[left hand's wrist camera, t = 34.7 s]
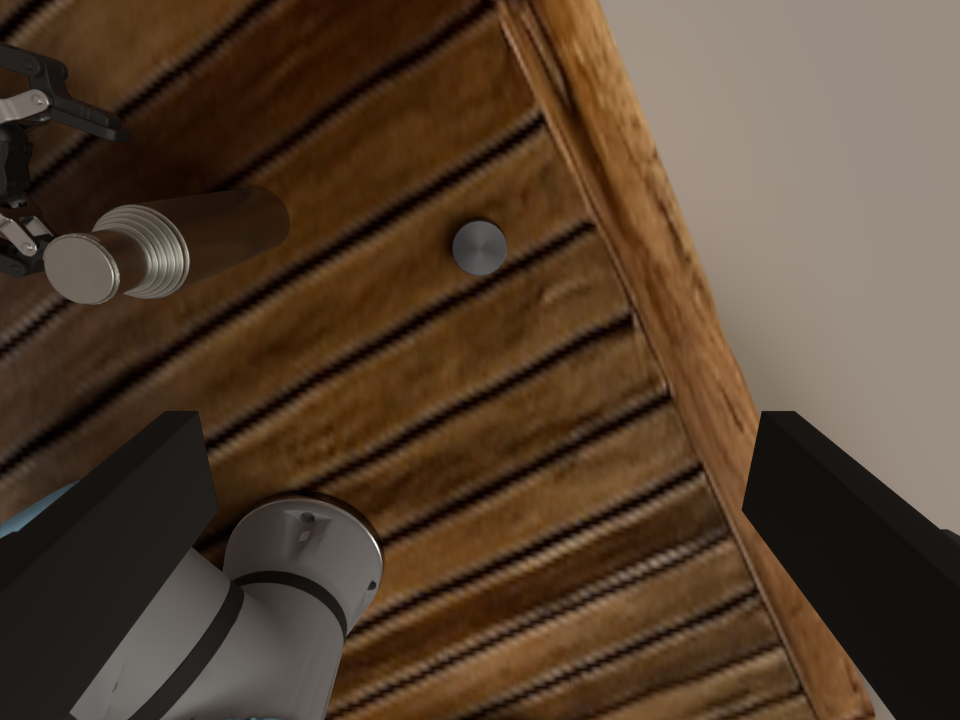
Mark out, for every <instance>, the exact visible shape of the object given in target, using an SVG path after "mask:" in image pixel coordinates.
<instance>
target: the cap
mask: <svg viewBox="0 0 960 720" xmlns="http://www.w3.org/2000/svg"><path fill="white" fill-rule="evenodd" d="M452 251H453V256H454V259H455V261H456V263H457V264H458V266H459V267H460V268H461V269H462V270H464V271H465V272H467V273H469V274H471V275H476V276H483V275H488V274H490V273H493V272H494V271H496V270H497V269H498V268H499V267H500V266H501V265H502V263H503V261H504V260H505V257H506V253H507V244H506V240H505V236H504V233H503V231H502V230H501V228H500V227H499V226H498V225H497V224H496V223H495V222H494V221H492V220H490V219H487V218H482V217H477V218H472V219H469V220H467V221H466V222H464V223H463V224H462V225H461V226H460V227H459V228H458V230H457V232H456V234H455V237H454V240H453V246H452Z"/></svg>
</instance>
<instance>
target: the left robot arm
mask: <svg viewBox="0 0 960 720" xmlns="http://www.w3.org/2000/svg"><path fill="white" fill-rule="evenodd" d="M217 511H218V506H217V501H216V496H215V491H214V486H213V481H212V477H211V472H210V467H209V462H208V457H207V452H206V447H205V442H204V437H203V432H202V427H201V423H200V418H199V413H198V411H165V412H164V413H162V414H161V415H160V416H159V417H157V418H156V419H155V420H154V421H153V422H151V423H150V424H149V425H148V426H146V427H145V428H144V429H143V430H141V431H140V432H139V433H138V434H137V435H135V436H134V437H133V438H132V439H130V440H129V441H128V442H127V443H125V444H124V445H123V446H122V447H121V448H119V449H118V450H117V451H116V452H114V453H113V454H112V455H111V456H109V457H108V458H107V459H106V460H105V461H103V462H102V463H101V464H100V465H98V466H97V467H96V468H95V469H94V470H92V471H91V472H90V473H89V474H87V475H86V476H85V477H84V478H82V479H81V480H79V481H76V482H73V483H70V484H68V485H66V486H64V487H62V488H60V489H59V490H57V491H55V492H53V493H51V494H50V495H48V496H46V497H44V498H43V499H41V500H39V501H38V502H36V503H34V504H33V505H31V506H29V507H28V508H26V509H24V510H23V511H21V512H20V513H18V514H16V515H15V516H13V517H12V518H10V519H8V520H7V521H5V522H4V523H2V524H1V525H0V720H324V718H325V714H326V710H327V707H328V703H329V699H330V696H331V692H332V688H333V685H334V681H335V677H336V673H337V670H338V666H339V662H340V659H341V655H342V651H343V647H344V643H345V640H346V637H347V635H348V633H349V632H350V631H351V629H352V628H353V627H354V625H355V624H356V623H357V621H358V620H359V618H360V617H361V616H362V614H363V613H364V612H365V610H366V609H367V608H368V606H369V605H370V603H371V602H372V600H373V599H374V597H375V595H376V592H377V591H378V588H379V586H380V583H381V578H382V574H383V570H384V550H383V546H382V543H381V540H380V538H379V536H378V534H377V532H376V531H375V529H374V528H373V526H372V525H371V524H370V523H369V521H368V520H367V519H366V518H365V517H364V516H363V515H361V514H360V513H359V512H358V511H356V510H355V509H354V508H352V507H350V506H349V505H347V504H345V503H343V502H341V501H339V500H337V499H334V498H332V497H328V496H325V495H321V494H316V493H307V492H292V493H285V494H280V495H276V496H273V497H270V498H268V499H265V500H263V501H261V502H259V503H258V504H256V505H255V506H253V507H252V508H251V509H250V510H249V511H247V513H246V514H245V515H244V516H243V517H242V519H241V520H240V521H239V523H238V524H237V526H236V527H235V529H234V531H233V532H232V534H231V536H230V539H229V542H228V544H227V547H226V551H225V558H224V566H223V571H222V572H221V571H220V570H219V569H218V568H217V567H215V566H214V565H213V564H212V563H210V562H209V561H208V560H207V559H206V558H204V557H203V556H202V555H201V554H199V553H198V552H197V551H196V550H195V549H194V548H192V545H193V544H194V543H195V541H196V540H197V539H198V537H199V536H200V535H201V533H202V532H203V530H204V529H205V528H206V526H207V525H208V524H209V522H210V521H211V520H212V518H213V517H214V516H215V514H216V513H217ZM742 511H743V513H744V514H745V516H746V517H747V518H748V520H749V521H750V522H751V524H752V525H753V526H754V528H755V529H756V530H757V532H758V533H759V535H760V536H761V537H762V539H763V540H764V541H765V543H766V544H767V545H768V547H769V548H770V549H771V551H772V552H773V554H774V555H775V556H776V558H777V559H778V560H779V562H780V563H781V564H782V566H783V567H784V568H785V570H786V571H787V573H788V574H789V575H790V577H791V578H792V579H793V581H794V582H795V583H796V585H797V586H798V587H799V589H800V590H801V592H802V593H803V594H804V596H805V597H806V598H807V600H808V601H809V602H810V604H811V605H812V606H813V608H814V609H815V611H816V612H817V613H818V615H819V616H820V617H821V619H822V620H823V621H824V623H825V624H826V625H827V627H828V628H829V630H830V631H831V632H832V634H833V635H834V636H835V638H836V639H837V640H838V642H839V643H840V644H841V646H842V647H843V649H844V650H845V651H846V653H847V654H848V655H849V657H850V658H851V659H852V661H853V662H854V663H855V665H856V666H857V668H858V669H859V670H860V672H861V673H862V674H863V676H864V677H865V678H866V680H867V681H868V682H869V684H870V685H871V686H872V688H873V689H874V691H875V692H876V693H877V695H878V696H879V697H880V699H881V700H882V701H883V703H884V704H885V706H886V707H887V708H888V710H889V711H890V712H891V714H892V715H893V716H894V718H895V719H896V720H960V536H959V535H957V534H955V533H953V532H951V531H949V530H948V529H939V528H938V527H937V526H935V525H934V524H933V523H932V522H930V521H929V520H928V519H927V518H926V517H924V516H923V515H922V514H921V513H919V512H918V511H917V510H916V509H914V508H913V507H912V506H911V505H910V504H908V503H907V502H906V501H905V500H903V499H902V498H901V497H900V496H898V495H897V494H896V493H895V492H894V491H892V490H891V489H890V488H889V487H887V486H886V485H885V484H884V483H882V482H881V481H880V480H879V479H878V478H876V477H875V476H874V475H873V474H871V473H870V472H869V471H868V470H866V469H865V468H864V467H863V466H862V465H860V464H859V463H858V462H857V461H855V460H854V459H853V458H852V457H850V456H849V455H848V454H847V453H846V452H844V451H843V450H842V449H841V448H839V447H838V446H837V445H836V444H834V443H833V442H832V441H831V440H830V439H828V438H827V437H826V436H825V435H823V434H822V433H821V432H820V431H819V430H817V429H816V428H815V427H814V426H812V425H811V424H810V423H809V422H807V421H806V420H805V419H804V418H803V417H801V416H800V415H799V414H798V413H796V412H795V411H762V413H761V418H760V423H759V427H758V432H757V437H756V442H755V447H754V452H753V457H752V462H751V467H750V472H749V477H748V481H747V486H746V491H745V496H744V501H743V506H742Z"/></svg>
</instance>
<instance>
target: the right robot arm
mask: <svg viewBox="0 0 960 720" xmlns="http://www.w3.org/2000/svg"><path fill="white" fill-rule="evenodd" d="M0 67H2V68H5V69H8V70H12V71H15V72H18V73H21V74H24V75H28V79H29V83H30V87H31V90H30V91H27V92H24V93H22V94H19V95H16V96H14V97H11V98H7V99H0V203H3V202H6V201H7V202H8V203H9V204H10V206H11V207H12V208H10V209H7V208H4V207H2V206H0V231H1V232H3V233H4V234H5V236H6V237H7V238H8V239H9V240H10V241H11V242H10V241H8V240H5V239H3V238H0V272H3V273H5V274H8V275H11V276H13V277H17V278H19V277H23V276H27V275H30V274H34V273H38V272H41V271H45V268H44V260H43V255H44V251H45V250H46V248H47V246H48V244H49V243H51V242H52V241H53V240H54V239H55V238H57V237H60V236H63V235H60V236H58V235H57V234H56V233H55V232H54V231H53V229H52V228H51V227H50V226H49V225H48V224H47V223H46V222H45V221H44V219H43V218H42V211H41V209H40V208H39V207H38V206H37V205H36V204H35V203H34V201H33V200H32V199H31V198H30V197H29V196H28V195H27V194H26V193H25V191H24V190H25V189H30V174H29V169H28V163H29V161H30V158H31V156H32V146H33V143H31V142H28V139H27V136H26V134H25V132H27V131H30V130H32V129H35V128H38V127H41V126H44V125H46V124H49V123H50V122H49V121H51V120H55V121H57V122H60V123H63V124H65V125H68V126H71V127H74V128H76V129H79V130H82V131H85V132H87V133H90V134H93V135H95V136H98V137H101V138H104V139H107V140H110V141H116V142H129V139H130V130H128V129H126V128H123V127H121V122H122V120H121V119H120V118H119V117H117V116H116V115H115V114H113V113H111V112H108V111H105V110H103V109H100V108H97V107H95V106H92V105H89V104H86V103H84V102H81V101H78V100H76V99H74V98H73V97H72V96H71V95H70V94H69V93H68V91H67V89H66V85H65V81H64V80H66V78H67V76H68V70H67V68H66V66H65V65H64V64H63V63H62V62H61V61H58V60H55V59H52V58H49V57H46V56H43V55H39V54H36V53H33V52H30V51H27V50H24V49H20V48H17V47H14V46H11V45H8V44H5V43H1V42H0Z"/></svg>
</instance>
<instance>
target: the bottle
mask: <svg viewBox="0 0 960 720" xmlns="http://www.w3.org/2000/svg"><path fill="white" fill-rule="evenodd" d="M288 230H289V216H288V212H287V210H286V208H285V206H284V204H283V203H282V201H281V200H280V199H279V198H278V197H277V196H276V195H274V194H273V193H272V192H270V191H268V190H266V189H262V188H257V187H251V188H244V189H237V190H229V191H222V192H215V193H208V194H201V195H194V196H187V197H180V198H173V199H166V200H158V201H151V202H144V203H137V204H130V205H123V206H119V207H116V208H114V209H112V210H110V211H109V212H107V213H106V214H104V215H103V216H102V217H101V218H100V219H99V220H98V221H97V223H96V224H95V226H94V228H93V230H92V231H91V232H88V233H71V234H66V235H63V236H60V237H57V238H55V239H54V240H53V241H52V242H51V243H49V244H48V246H47V248H46V250H45V251H44V255H43V260H44V268H45V272H46V275H47V277H48V279H49V281H50V283H51V284H52V286H53V287H54V288H55V289H56V290H57V291H58V292H59V293H60V294H61V295H63V296H64V297H66V298H67V299H69V300H71V301H74V302H77V303H81V304H91V305H93V304H101V303H104V302H107V301H109V300H110V299H111V298H113V297H114V296H117V295H119V294H122V293H124V294H127V295H130V296H133V297H137V298H143V299H156V298H162V297H165V296H168V295H170V294H173V293H175V292H177V291H179V290H181V289H184V288H186V287H188V286H190V285H193V284H195V283H197V282H199V281H201V280H204V279H206V278H208V277H210V276H213V275H215V274H217V273H219V272H221V271H224V270H226V269H228V268H230V267H233V266H235V265H237V264H239V263H241V262H244V261H246V260H248V259H250V258H253V257H255V256H257V255H259V254H261V253H264V252H266V251H268V250H270V249H273V248H275V247H277V246H278V245H280V244H281V243H282V242H283V241H284V239H285V238H286V236H287V234H288Z"/></svg>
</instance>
